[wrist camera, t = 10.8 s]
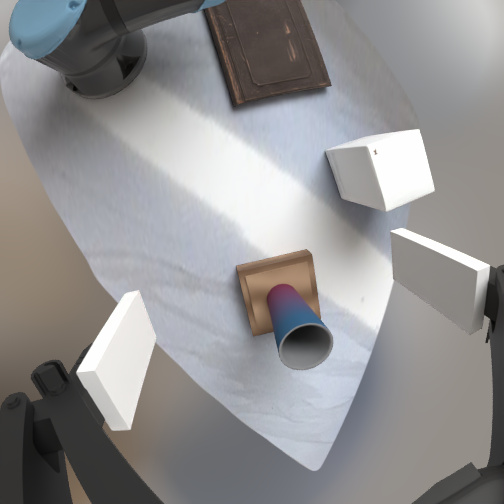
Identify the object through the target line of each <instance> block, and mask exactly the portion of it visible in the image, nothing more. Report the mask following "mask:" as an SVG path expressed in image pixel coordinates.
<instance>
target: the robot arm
mask: <svg viewBox="0 0 504 504" xmlns="http://www.w3.org/2000/svg"><path fill="white" fill-rule="evenodd" d="M224 1H225V0H19V1H18V2H17V4H16V6H15V7H14V10H13V12H12V15H11V19H10V23H9V36H10V40H11V42H12V44H13V45H14V46H15V47H16V48H17V49H18V50H20V51H21V52H22V53H24V55H25V56H26V57H28V58H31V59H34V60H36V61H38V62H40V63H42V64H44V65H46V66H48V67H50V68H52V69H54V70H56V71H58V72H60V75H61V77H62V79H63V81H64V83H65V85H66V86H67V87H68V88H69V89H70V90H71V91H72V92H74V93H76V94H78V95H80V96H82V97H85V98H89V99H99V98H104V97H108V96H111V95H113V94H115V93H117V92H119V91H121V90H122V89H124V88H125V87H126V86H127V85H129V84H130V83H131V82H132V81H133V80H134V79H135V77H136V76H137V75H138V73H139V72H140V70H141V69H142V67H143V64H144V62H145V59H146V55H147V41H146V38H145V35H144V34H143V32H142V30H141V29H142V28H145V27H148V26H150V25H153V24H156V23H159V22H162V21H165V20H168V19H171V18H174V17H177V16H181V15H184V14H187V13H197V12H198V11H201V10H202V9H205V8H209V7H212V6H216V5H219V4H221V3H222V2H224ZM390 234H391V247H392V265H393V279H394V280H395V281H397V282H398V283H400V284H401V285H402V286H404V287H405V288H407V289H408V290H410V291H411V292H412V293H414V294H415V295H417V296H418V297H419V298H421V299H422V300H424V301H425V302H426V303H428V304H429V305H430V306H432V307H433V308H434V309H436V310H437V311H439V312H440V313H441V314H443V315H444V316H445V317H447V318H448V319H449V320H451V321H452V322H453V323H455V324H456V325H457V326H458V327H460V328H461V329H462V330H464V331H465V332H466V333H468V334H469V335H471V334H473V333H474V332H477V331H478V330H480V329H482V326H483V320H484V315H485V316H487V317H488V318H490V322H489V327H488V333H487V338H486V343H488V340H489V339H490V346H491V358H492V376H493V420H492V437H491V438H492V439H491V449H490V458H489V462H488V465H487V467H485V468H481V469H476V468H475V466H474V465H473V464H472V463H469V464H467V465H466V466H464V467H463V468H461V469H460V470H458V471H456V472H455V473H453V474H451V475H450V476H448V477H446V478H445V479H443V480H441V481H439V482H438V483H436V484H435V485H434V486H432V487H431V488H430V489H429V490H428V491H427V492H425V493H424V494H423V495H422V496H421V497H419V498H418V499H417V500H416V501H414V502H413V503H412V504H504V265H501V266H499V267H498V268H497V269H496V268H494V267H492V266H490V265H488V264H486V263H483V262H481V261H479V260H477V259H475V258H472V257H470V256H468V255H466V254H463V253H461V252H459V251H457V250H454V249H452V248H450V247H447V246H445V245H442V244H440V243H438V242H435V241H433V240H430V239H428V238H425V237H423V236H420V235H418V234H415V233H413V232H410V231H408V230H405V229H403V228H400V229H396V230H392V231H390ZM156 338H157V337H156V335H155V332H154V330H153V327H152V325H151V322H150V319H149V317H148V314H147V311H146V309H145V306H144V303H143V300H142V297H141V295H140V292H139V290H138V291H133V292H129V293H125V295H124V296H123V298H122V299H121V301H120V302H119V304H118V305H117V307H116V308H115V310H114V312H113V313H112V314H111V316H110V318H109V319H108V321H107V322H106V324H105V325H104V327H103V329H102V330H101V332H100V333H99V335H98V337H97V338H96V340H95V342H94V343H91V344H90V345H89V346H88V347H87V348H86V349H84V350H83V352H82V353H81V355H80V357H79V359H78V360H77V362H76V365H74V366H73V368H72V370H71V371H70V373H69V375H68V373H67V371H66V369H65V367H64V366H63V364H62V362H61V361H59V360H51V361H48V362H45V363H43V364H41V365H40V366H38V367H37V368H36V369H35V370H34V371H33V373H32V374H31V379H32V381H33V383H34V384H35V386H36V388H37V389H38V391H39V392H40V394H41V395H42V397H43V399H40V400H37V401H33V402H31V401H30V400H29V398H28V397H27V395H26V394H25V393H23V392H18V393H14V394H11V395H9V397H7V398H6V399H5V401H4V402H3V403H2V405H1V408H0V504H73V503H72V498H71V493H70V488H69V482H68V476H67V470H66V463H65V455H64V452H65V454H66V456H67V458H68V460H69V462H70V464H71V466H72V468H73V470H74V472H75V474H76V476H77V478H78V480H79V482H80V484H81V485H82V487H83V489H84V491H85V493H86V494H87V496H88V498H89V500H90V501H91V503H92V504H164V503H163V502H162V501H161V500H160V499H159V498H158V497H157V496H156V494H155V493H154V492H153V491H152V490H151V489H150V488H149V487H148V486H147V484H146V483H145V482H144V481H143V480H142V479H141V478H140V476H139V475H138V474H137V473H136V472H135V470H133V468H132V467H131V465H130V464H129V463H128V462H127V461H126V459H125V458H124V457H123V455H122V454H121V453H120V452H119V450H118V449H117V448H116V446H115V445H114V444H113V442H112V441H111V440H110V438H109V437H108V435H107V434H106V432H105V431H104V430H103V428H102V426H103V423H104V421H106V422H107V424H108V425H109V427H110V428H111V429H112V431H114V430H130V429H131V425H132V421H133V417H134V414H135V410H136V406H137V402H138V399H139V395H140V392H141V388H142V384H143V381H144V378H145V374H146V371H147V367H148V364H149V360H150V357H151V353H152V351H153V347H154V344H155V341H156Z"/></svg>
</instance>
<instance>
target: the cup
mask: <svg viewBox="0 0 504 504" xmlns="http://www.w3.org/2000/svg"><path fill="white" fill-rule="evenodd" d="M267 303H268V307H269V312H270V316H271V321H272V325H273V330H274V334H275V339H276V344H277V348H278V353H279V357H280V359H281V361H282V362H283V363H284V365H286V366H287V367H289V368H291V369H295V370H307V369H311V368H314V367H316V366H318V365H319V364H321V363H322V362H323V361H324V360H325V359H326V358H327V357H328V356H329V354H330V352H331V350H332V347H333V337H332V334H331V332H330V331H329V329H328V328H327V327H326V326H325V325H324V323H323V322H322V321H321V320H320V319H319V317H318V316H317V315H316V314H315V313H314V311H313V310H312V309H311V308H310V306H309V305H308V304H307V303H306V302H305V300H304V299H303V298H302V297H301V296H300V294H299V293H298V292H297V291H296V290H295V289H294V288H293V287H292V286H291V285H288V284H278V285H276V286H274V287H273V288H272V289H271V290H270V291H269V293H268V295H267Z"/></svg>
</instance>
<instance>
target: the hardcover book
mask: <svg viewBox="0 0 504 504" xmlns="http://www.w3.org/2000/svg"><path fill="white" fill-rule="evenodd" d="M204 10H205V13H206V16H207V20H208V23H209V26H210V29H211V32H212V36H213V39H214V42H215V45H216V49H217V52H218V55H219V58H220V62H221V65H222V68H223V71H224V75H225V78H226V81H227V85H228V88H229V91H230V95H231V98H232V102H233V105H234V107H235V105H237V104H241V103H246V102H250V101H254V100H258V99H263V98H267V97H272V96H277V95H282V94H287V93H292V92H298V91H303V90H309V89H316V88H322V87H329V86H332V85H331V82H330V79H329V76H328V73H327V70H326V67H325V64H324V61H323V58H322V55H321V52H320V49H319V46H318V44H317V41H316V38H315V36H314V33H313V30H312V28H311V25H310V23H309V20H308V17H307V15H306V13H305V10H304V8H303V5H302V3H301V0H225V1H224V2H222V3H221V4H219V5H216V6H212V7H209V8H205V9H204Z"/></svg>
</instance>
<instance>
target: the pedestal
mask: <svg viewBox="0 0 504 504" xmlns="http://www.w3.org/2000/svg"><path fill="white" fill-rule="evenodd" d="M237 271H238V276H239V280H240V284H241V288H242V292H243V296H244V300H245V305H246V309H247V313H248V317H249V321H250V325H251V329H252V333H253V336H257V335H261V334H266V333H270V332H274V330H273V325H272V321H271V316H270V312H269V307H268V303H267V295H268V293H269V291H270V290H271V289H272V288H273V287H274V286H276V285H278V284H288V285H291V286H292V287H293V288H294V289H295V290H296V291H297V292H298V293H299V294H300V296H301V297H302V298H303V299H304V300H305V302H306V303H307V304H308V305H309V306H310V308H311V309H312V310H313V311H314V313H315V314H316V315H317V316H318V317H319V319H321V315H320V308H319V300H318V292H317V285H316V278H315V271H314V265H313V258H312V254H311V253H310V252H309V251H308V250H307V249H306V250H301V251H297V252H293V253H289V254H285V255H280V256H276V257H272V258H268V259H263V260H259V261H255V262H251V263H246V264H242V265H238V266H237Z"/></svg>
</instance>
